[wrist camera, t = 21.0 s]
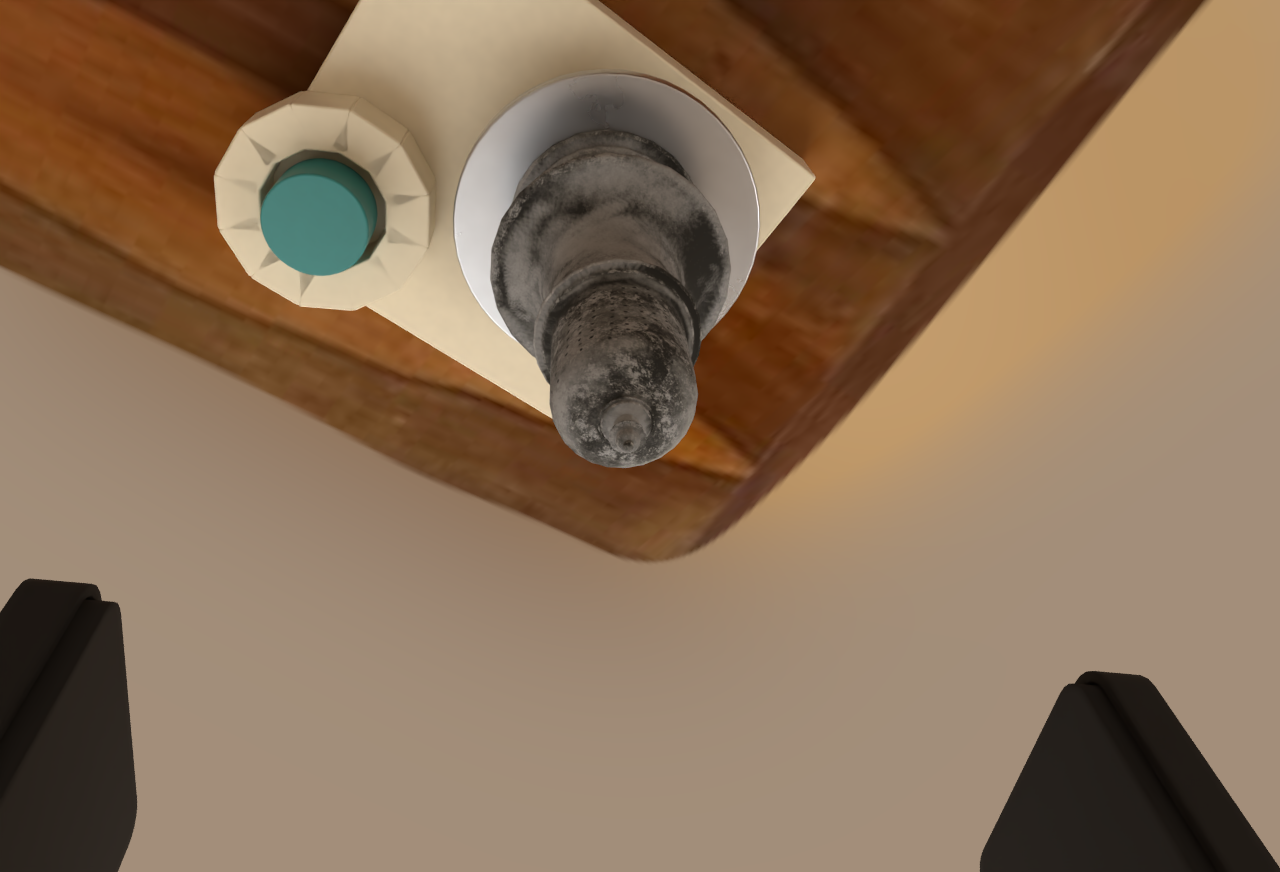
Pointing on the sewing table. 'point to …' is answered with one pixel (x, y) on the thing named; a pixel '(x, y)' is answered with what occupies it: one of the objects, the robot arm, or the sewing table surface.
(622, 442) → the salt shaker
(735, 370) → the sewing table surface
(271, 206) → the button
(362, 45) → the scale
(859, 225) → the sewing table surface
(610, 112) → the weighing pan
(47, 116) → the sewing table surface
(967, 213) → the sewing table surface
